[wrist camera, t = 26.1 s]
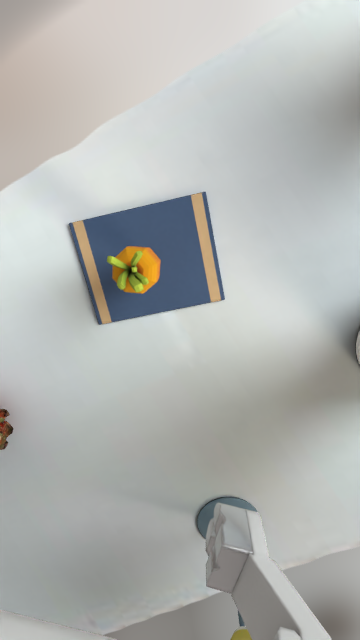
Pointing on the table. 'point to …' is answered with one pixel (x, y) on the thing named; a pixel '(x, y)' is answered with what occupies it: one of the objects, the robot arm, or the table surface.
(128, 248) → the carrot
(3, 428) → the dragon fruit
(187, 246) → the napkin
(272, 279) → the table surface
